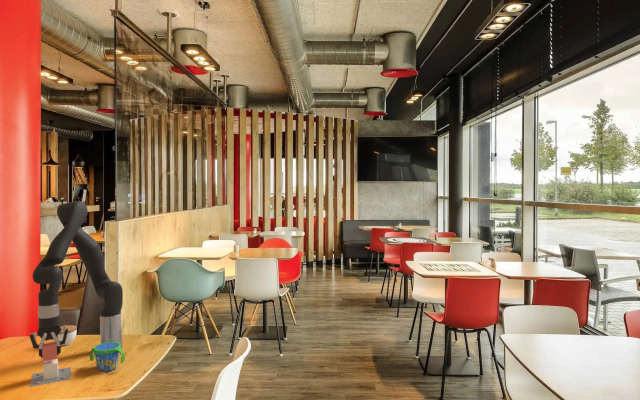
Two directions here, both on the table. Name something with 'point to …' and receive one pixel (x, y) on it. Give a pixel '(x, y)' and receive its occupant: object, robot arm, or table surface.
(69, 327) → the lidded jar
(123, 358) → the snack cup
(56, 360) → the cream brick
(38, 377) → the base plate
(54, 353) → the red brick
